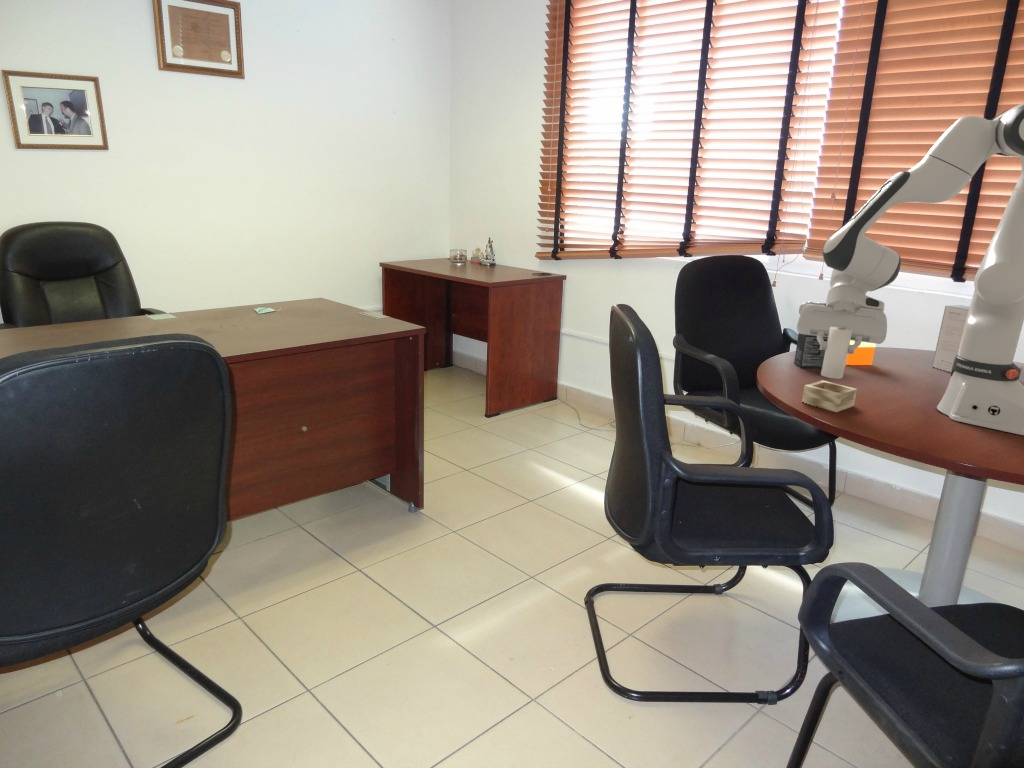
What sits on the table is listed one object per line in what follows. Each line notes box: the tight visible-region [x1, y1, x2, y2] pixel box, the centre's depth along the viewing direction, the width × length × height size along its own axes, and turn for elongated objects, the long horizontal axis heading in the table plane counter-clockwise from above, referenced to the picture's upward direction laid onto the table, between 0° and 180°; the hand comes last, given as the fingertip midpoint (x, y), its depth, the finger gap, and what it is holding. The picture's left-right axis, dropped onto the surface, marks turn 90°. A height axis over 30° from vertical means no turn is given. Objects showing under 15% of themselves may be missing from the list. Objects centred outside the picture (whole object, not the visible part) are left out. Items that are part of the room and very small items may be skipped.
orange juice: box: [845, 340, 877, 366], centre depth 207 cm, size 8×9×20 cm
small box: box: [793, 332, 828, 370], centre depth 202 cm, size 11×6×10 cm, turn 84°
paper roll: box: [820, 326, 852, 380], centre depth 163 cm, size 5×5×12 cm
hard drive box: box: [931, 304, 970, 373], centre depth 200 cm, size 16×8×20 cm, turn 22°
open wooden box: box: [801, 379, 858, 413], centre depth 166 cm, size 9×9×4 cm
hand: (836, 350), depth 162 cm, fingers closed on paper roll, 5 cm apart
